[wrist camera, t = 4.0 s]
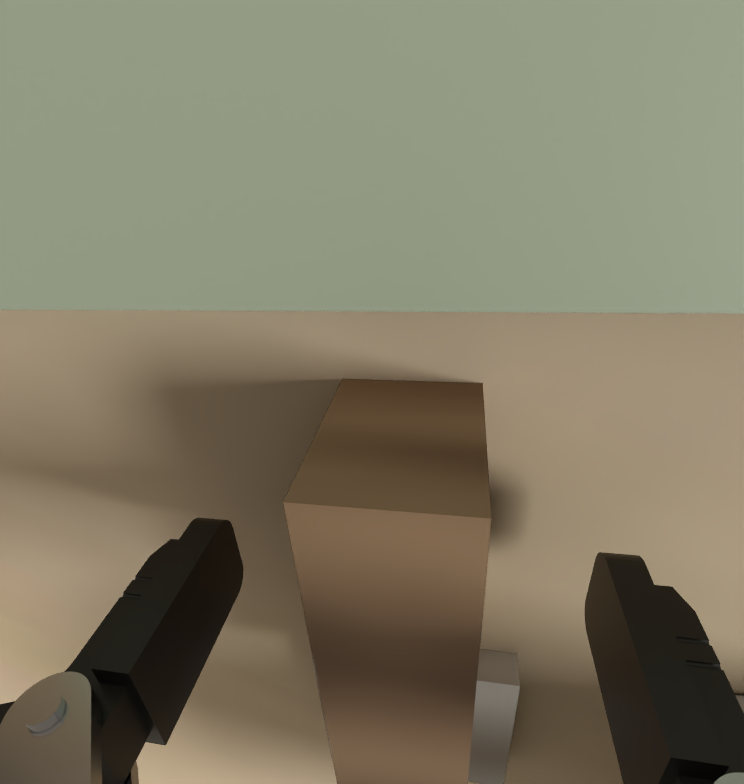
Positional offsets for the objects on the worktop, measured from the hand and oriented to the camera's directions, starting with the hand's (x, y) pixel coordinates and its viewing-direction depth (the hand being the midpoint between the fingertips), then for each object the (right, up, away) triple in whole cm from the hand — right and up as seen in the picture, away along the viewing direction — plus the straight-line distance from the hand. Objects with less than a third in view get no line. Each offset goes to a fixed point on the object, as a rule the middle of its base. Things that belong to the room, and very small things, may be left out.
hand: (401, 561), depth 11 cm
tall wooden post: (+1, -3, +3) cm, 4 cm away
